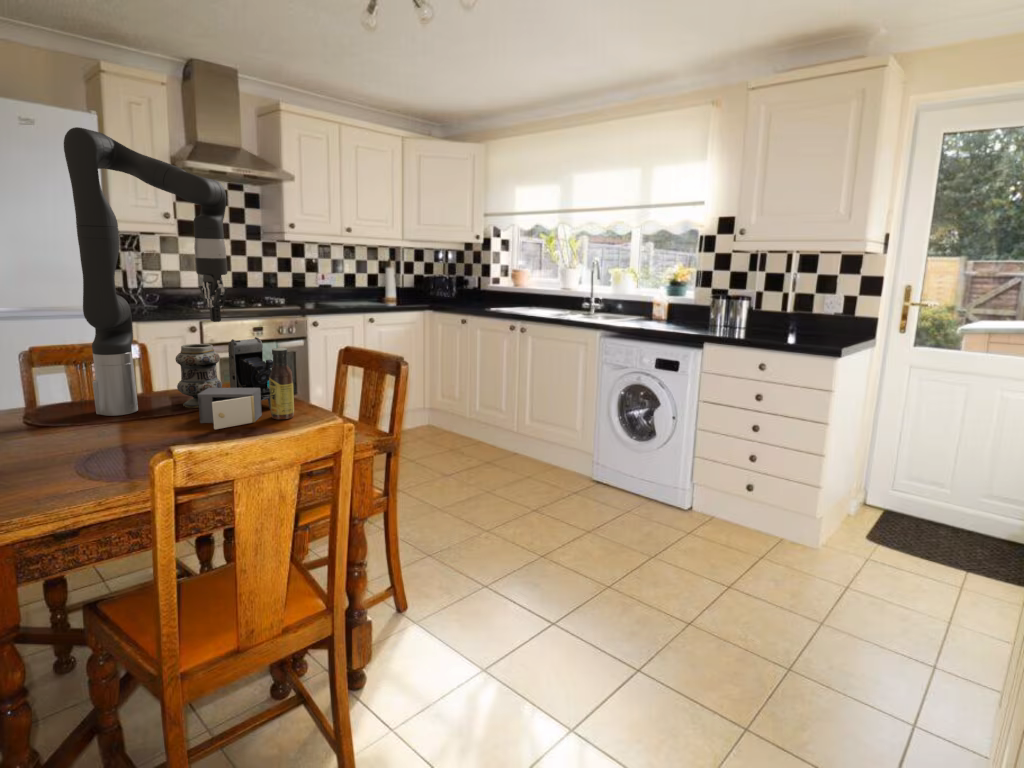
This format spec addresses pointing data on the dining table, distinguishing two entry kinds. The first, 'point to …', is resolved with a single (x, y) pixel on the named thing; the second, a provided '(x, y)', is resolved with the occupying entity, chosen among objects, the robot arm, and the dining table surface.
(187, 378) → the apothecary jar
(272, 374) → the sauce bottle
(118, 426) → the dining table surface
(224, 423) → the door
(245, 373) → the vintage camera
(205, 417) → the case
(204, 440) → the dining table surface
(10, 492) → the dining table surface
